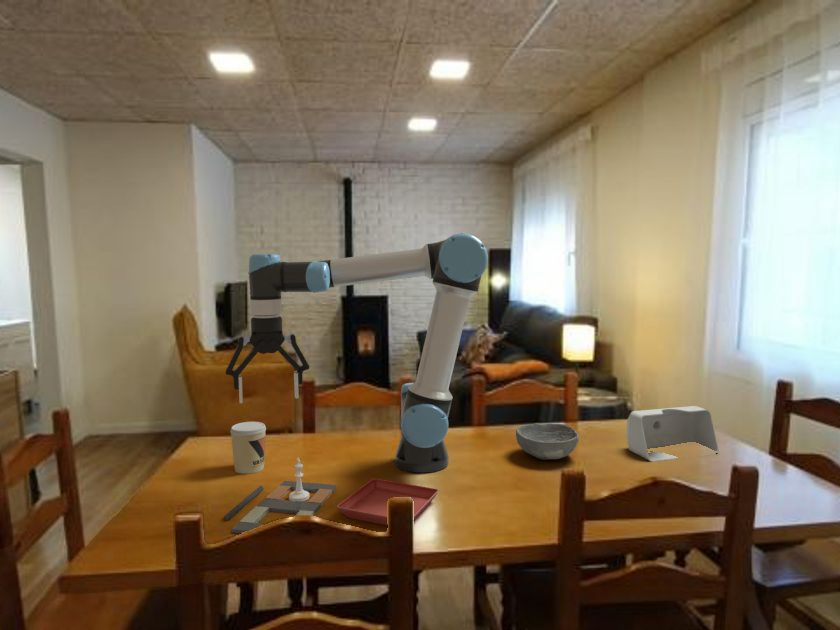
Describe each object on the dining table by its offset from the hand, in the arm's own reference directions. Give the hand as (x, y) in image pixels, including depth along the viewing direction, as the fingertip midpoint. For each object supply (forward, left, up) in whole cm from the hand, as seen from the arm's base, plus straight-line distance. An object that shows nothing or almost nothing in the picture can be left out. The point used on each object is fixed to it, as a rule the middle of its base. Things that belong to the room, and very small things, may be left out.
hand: (269, 399), depth 138 cm
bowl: (-70, -33, -22) cm, 81 cm away
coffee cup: (+11, -8, -22) cm, 26 cm away
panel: (-10, +13, -22) cm, 27 cm away
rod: (+1, +13, -22) cm, 25 cm away
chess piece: (-10, +7, -22) cm, 25 cm away
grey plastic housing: (-107, -47, -22) cm, 119 cm away
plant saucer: (-33, +9, -23) cm, 41 cm away
